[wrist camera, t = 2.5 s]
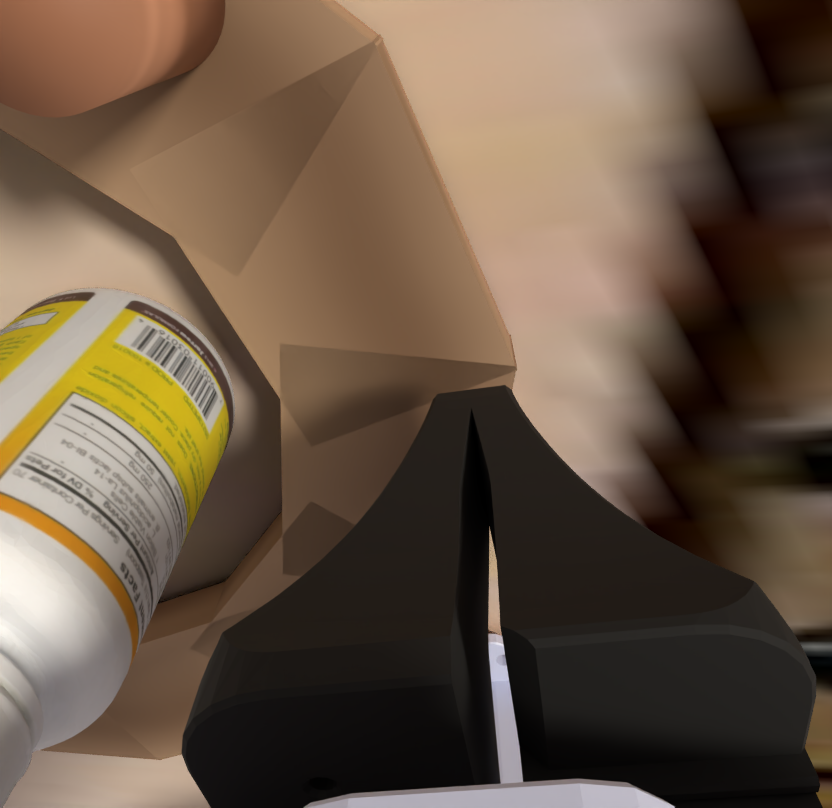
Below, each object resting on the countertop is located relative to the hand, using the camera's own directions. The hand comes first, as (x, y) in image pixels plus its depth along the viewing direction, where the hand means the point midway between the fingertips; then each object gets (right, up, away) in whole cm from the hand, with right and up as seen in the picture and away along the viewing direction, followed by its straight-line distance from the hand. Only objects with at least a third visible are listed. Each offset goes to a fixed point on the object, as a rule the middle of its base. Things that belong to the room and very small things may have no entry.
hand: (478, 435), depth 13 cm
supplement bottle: (-8, +1, +5) cm, 10 cm away
